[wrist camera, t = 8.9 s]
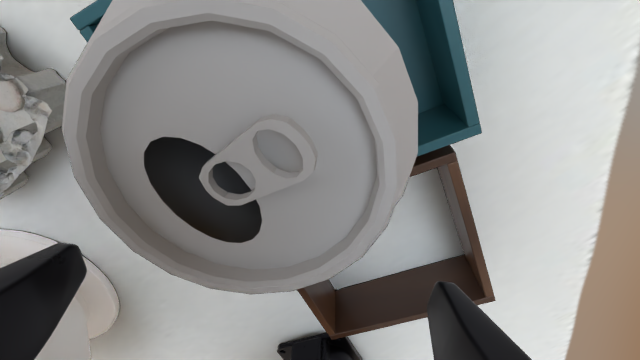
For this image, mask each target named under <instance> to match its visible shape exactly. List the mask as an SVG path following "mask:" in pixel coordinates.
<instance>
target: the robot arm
mask: <svg viewBox="0 0 640 360" xmlns="http://www.w3.org/2000/svg"><path fill="white" fill-rule="evenodd" d="M86 273H87V268H86V265H85V262H84V259H83V256H82V254H81V251H80V249H79V247H78V246H77V245H75V244H66V243H57V244H54V245H52V246H50V247H47V248H45V249H43V250H40V251H38V252H36V253H34V254H31V255H29V256H27V257H24V258H22V259H20V260H18V261H15V262H13V263H11V264H8V265H6V266H4V267H2V268H0V360H35V358H36V357H37V355H38V354H39V353H40V351H41V350H42V348H43V347H44V346H45V344H46V343H47V341H48V340H49V338H50V337H51V335H52V333H53V332H54V330H55V329H56V327H57V325H58V323H59V322H60V320H61V318H62V317H63V315H64V313H65V311H66V310H67V308H68V306H69V305H70V303H71V301H72V299H73V298H74V296H75V294H76V292H77V291H78V289H79V287H80V286H81V284H82V282H83V280H84V279H85V276H86ZM427 314H428V321H429V328H430V334H431V341H432V348H433V355H434V360H532V359H531V358H530V357H529V356H528V355H527V354H525V353H524V352H523V351H522V350H521V349H520V348H519V347H518V346H517V345H516V344H515V343H514V342H513V341H512V340H511V339H510V338H509V337H508V336H507V335H506V334H505V333H504V332H503V331H502V330H501V329H500V328H499V327H498V326H497V325H496V324H495V323H494V322H493V321H492V320H491V319H490V318H489V317H488V316H487V315H486V314H485V313H484V312H483V311H482V310H481V309H480V308H479V307H478V306H477V305H476V304H475V303H474V302H473V301H472V300H471V299H470V298H469V297H468V296H467V295H466V294H465V293H464V292H463V291H462V290H461V289H460V288H459V287H458V286H457V285H456V284H454V283H452V282H443V281H438V282H436V283H435V285H434V288H433V290H432V293H431V296H430V298H429V301H428V304H427ZM277 352H278V353H279V355H280V356H281V357H282V358H283V359H284V360H362V358H361V357H360V355H359V354H358V352H357V351H356V349H355V348H354V346H353V345H352V343H351V342H350V340H349V338H348V337H347V336H346V337H342V338H338V339H334V340H332V339H331V338H330V336H329V335H328V334H327V333H325V334H321V335H317V336H313V337H309V338H305V339H301V340H296V341H292V342H288V343H284V344H281V345H279V346H278V351H277Z"/></svg>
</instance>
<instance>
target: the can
mask: <svg viewBox="0 0 640 360" xmlns="http://www.w3.org/2000/svg"><path fill="white" fill-rule="evenodd" d="M62 133H63V136H64V140H65V144H66V148H67V152H68V155H69V159H70V163H71V167H72V171H73V174H74V177H75V179H76V181H77V182H78V184H79V186H80V187H81V189H82V190H83V192H84V194H85V195H86V197H87V199H88V200H89V202H90V203H91V205H92V207H93V208H94V210H95V212H96V213H97V215H98V216H99V218H100V219H101V220H102V221H103V222H104V223H105V224H106V225H107V226H108V227H109V228H110V229H111V230H112V231H113V232H114V233H115V234H116V235H117V236H118V237H119V238H120V239H121V240H122V241H123V242H124V243H125V244H126V245H127V246H128V247H129V248H130V249H131V250H132V251H134V252H135V253H137V254H139V255H140V256H142V257H143V258H145V259H147V260H148V261H150V262H152V263H153V264H155V265H156V266H158V267H160V268H161V269H163V270H165V271H166V272H168V273H169V274H171V275H174V276H177V277H180V278H182V279H185V280H188V281H191V282H194V283H196V284H199V285H202V286H205V287H207V288H210V289H217V290H224V291H231V292H238V293H245V294H262V293H275V292H289V291H294V290H297V289H300V288H303V287H306V286H309V285H312V284H315V283H319V282H322V281H325V280H328V279H330V278H332V277H333V276H335V275H336V274H338V273H339V272H341V271H342V270H344V269H345V268H347V267H348V266H350V265H351V264H353V263H354V262H356V261H357V260H359V259H361V258H362V257H363V256H364V255H365V253H366V252H367V251H368V250H369V248H370V247H371V246H372V245H373V243H374V242H375V241H376V240H377V238H378V237H379V236H380V235H381V233H382V232H383V231H384V230H385V228H386V227H387V226H388V223H389V220H390V217H391V214H392V212H393V209H394V206H395V205H396V204H397V203H398V201H399V200H400V199H401V197H402V196H403V194H404V191H405V188H406V185H407V182H408V179H409V177H410V174H411V171H412V168H413V165H414V163H415V160H416V157H417V154H418V101H417V98H416V95H415V92H414V89H413V86H412V84H411V81H410V78H409V75H408V72H407V69H406V67H405V64H404V61H403V58H402V55H401V52H400V50H399V47H398V46H397V44H396V43H395V42H394V41H393V40H392V38H391V37H390V36H389V35H388V33H387V32H386V31H385V30H384V28H383V27H382V26H381V25H380V23H379V22H378V21H377V20H376V18H375V17H374V16H373V15H372V13H371V12H370V11H369V10H368V8H367V7H366V6H365V5H364V4H363V2H362V1H361V0H112V2H111V4H110V5H109V7H108V9H107V11H106V12H105V14H104V16H103V17H102V19H101V21H100V23H99V24H98V26H97V28H96V30H95V31H94V33H93V34H92V36H91V38H90V39H89V41H88V43H87V45H86V46H85V48H84V50H83V52H82V53H81V55H80V57H79V59H78V60H77V62H76V64H75V66H74V67H73V69H72V71H71V73H70V74H69V76H68V78H67V81H66V91H65V101H64V111H63V121H62Z"/></svg>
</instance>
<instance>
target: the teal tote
mask: <svg viewBox="0 0 640 360" xmlns="http://www.w3.org/2000/svg"><path fill="white" fill-rule="evenodd" d="M361 1H362V2H363V4H364V5H365V6H366V7H367V8H368V10H369V11H370V12H371V13H372V15H373V16H374V17H375V18H376V20H377V21H378V22H379V23H380V25H381V26H382V27H383V28H384V30H385V31H386V32H387V33H388V35H389V36H390V37H391V38H392V40H393V41H394V42H395V43H396V44H397V46H398V47H399V50H400V52H401V55H402V58H403V61H404V64H405V67H406V69H407V72H408V75H409V78H410V81H411V84H412V86H413V89H414V92H415V95H416V98H417V101H418V154H417V156H420V155H423V154H426V153H428V152H431V151H434V150H437V149H439V148H442V147H445V146H448V145H450V144H453V143H456V142H458V141H461V140H464V139H467V138H469V137H472V136H475V135H478V134H480V133H482V131H481V126H480V123H479V117H478V113H477V108H476V104H475V99H474V94H473V90H472V85H471V81H470V76H469V72H468V67H467V63H466V58H465V54H464V49H463V44H462V40H461V35H460V31H459V26H458V22H457V17H456V13H455V8H454V3H453V0H361ZM111 2H112V0H97V1H95V2H94V3H92V4H91V5H89V6H88V7H86V8H85V9H83V10H81V11H80V12H78V13H77V14H75V15H74V16H72V17H71V18H70V20H71V21H72V22H73V24H74V25H75V26H76V28H77V29H78V30H80V33H81V34H82V36H83V37H84V38H85V40H86V41H87V42H88V41H89V39H90V38H91V36H92V34H93V33H94V31H95V30H96V28H97V26H98V24H99V23H100V21H101V19H102V17H103V16H104V14H105V12H106V11H107V9H108V7H109V5H110V4H111Z"/></svg>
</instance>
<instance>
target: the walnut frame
mask: <svg viewBox="0 0 640 360" xmlns="http://www.w3.org/2000/svg"><path fill="white" fill-rule="evenodd" d="M434 168H438V171H439V175H440V178H441V181H442V184H443V188H444V191H445V194H446V197H447V200H448V204H449V207H450V210H451V213H452V217H453V220H454V223H455V226H456V230H457V233H458V236H459V239H460V242H461V246H462V249H463V252H464V255H461V256H458V257H454V258H451V259H447V260H443V261H440V262H436V263H433V264H429V265H425V266H422V267H418V268H415V269H411V270H408V271H404V272H400V273H397V274H393V275H390V276H386V277H383V278H379V279H375V280H372V281H368V282H365V283H361V284H357V285H354V286H350V287H347V288H343V289H340V290H336V291H335V289H334V288H333V286H332V284H331V283H330V281H329V280H325V281H322V282H319V283H315V284H312V285H309V286H306V287H303V288H300V289H297V290H298V292H299V293H300V295H301V296H302V298H303V299H304V301H305V302H306V303H307V305H308V306H309V308H310V309H311V311H312V312H313V313H314V315H315V316H316V318H317V319H318V321H319V322H320V324H321V325H322V326H323V328H324V329H325V331H326V332H327V334H328V335H329V336H330V338H331V339H332V340H334V339H338V338H342V337H346V336H350V335H354V334H359V333H363V332H367V331H371V330H375V329H380V328H384V327H388V326H392V325H396V324H400V323H405V322H409V321H413V320H417V319H421V318H426V317H428V314H427V304H428V301H429V298H430V296H431V293H432V290H433V288H434V285H435V283H436V282H438V281H443V282H452V283H454V284H456V285H457V286H458V287H459V288H460V289H461V290H462V291H463V292H464V293H465V294H466V295H467V296H468V297H469V298H470V299H471V300H472V301H473V302H474V303H475V304H476V305H480V304H484V303H488V302H492V301H495V297H494V293H493V289H492V286H491V282H490V278H489V275H488V271H487V267H486V264H485V260H484V256H483V253H482V249H481V245H480V242H479V238H478V234H477V231H476V227H475V223H474V219H473V216H472V212H471V208H470V205H469V201H468V197H467V194H466V190H465V186H464V183H463V179H462V175H461V172H460V168H459V164H458V161H457V157H456V153H455V151H454V150H453V149H452V147H451V146H450V145H448V146H445V147H442V148H439V149H437V150H434V151H431V152H428V153H426V154H423V155H420V156H417V157H416V160H415V163H414V165H413V168H412V171H411V174H410V177H412V176H414V175H417V174H420V173H423V172H426V171H429V170H431V169H434Z"/></svg>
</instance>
